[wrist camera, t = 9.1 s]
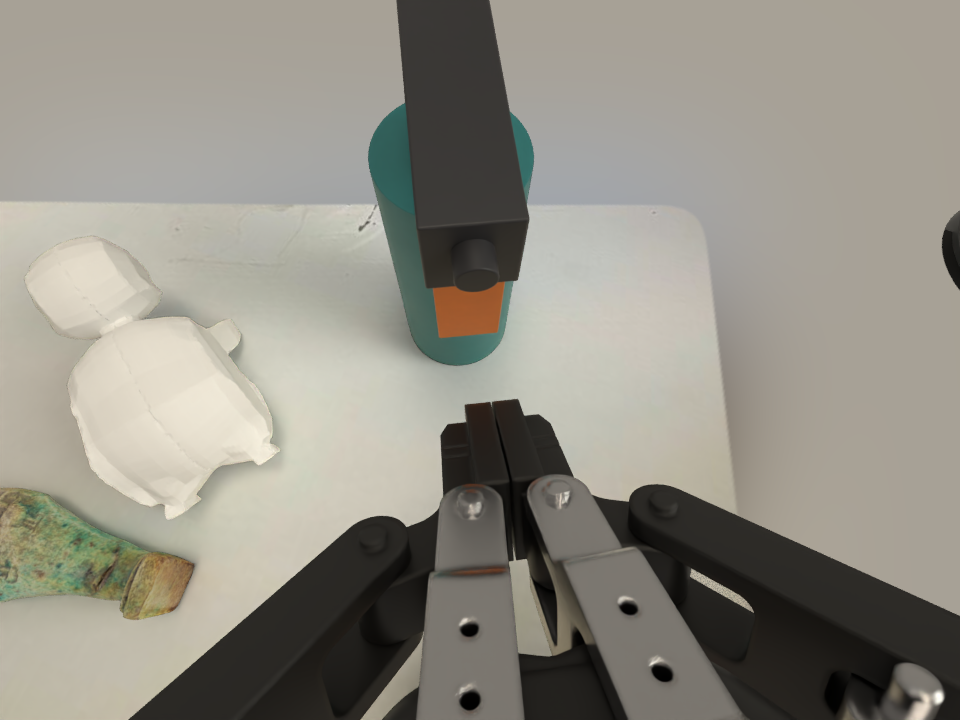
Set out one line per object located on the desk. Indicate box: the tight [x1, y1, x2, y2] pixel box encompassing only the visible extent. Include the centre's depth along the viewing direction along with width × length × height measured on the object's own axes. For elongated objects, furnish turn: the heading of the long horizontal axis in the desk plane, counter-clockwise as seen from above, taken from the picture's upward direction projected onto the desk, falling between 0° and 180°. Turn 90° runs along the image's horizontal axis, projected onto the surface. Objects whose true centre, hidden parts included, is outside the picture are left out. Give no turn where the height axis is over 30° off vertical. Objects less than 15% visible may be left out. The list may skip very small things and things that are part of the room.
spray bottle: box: [368, 0, 534, 365], centre depth 23 cm, size 11×6×20 cm, turn 7°
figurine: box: [0, 488, 194, 620], centre depth 26 cm, size 6×15×4 cm, turn 69°
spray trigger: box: [433, 282, 505, 338], centre depth 18 cm, size 1×2×5 cm, turn 97°
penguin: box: [24, 236, 281, 520], centre depth 28 cm, size 8×8×15 cm
